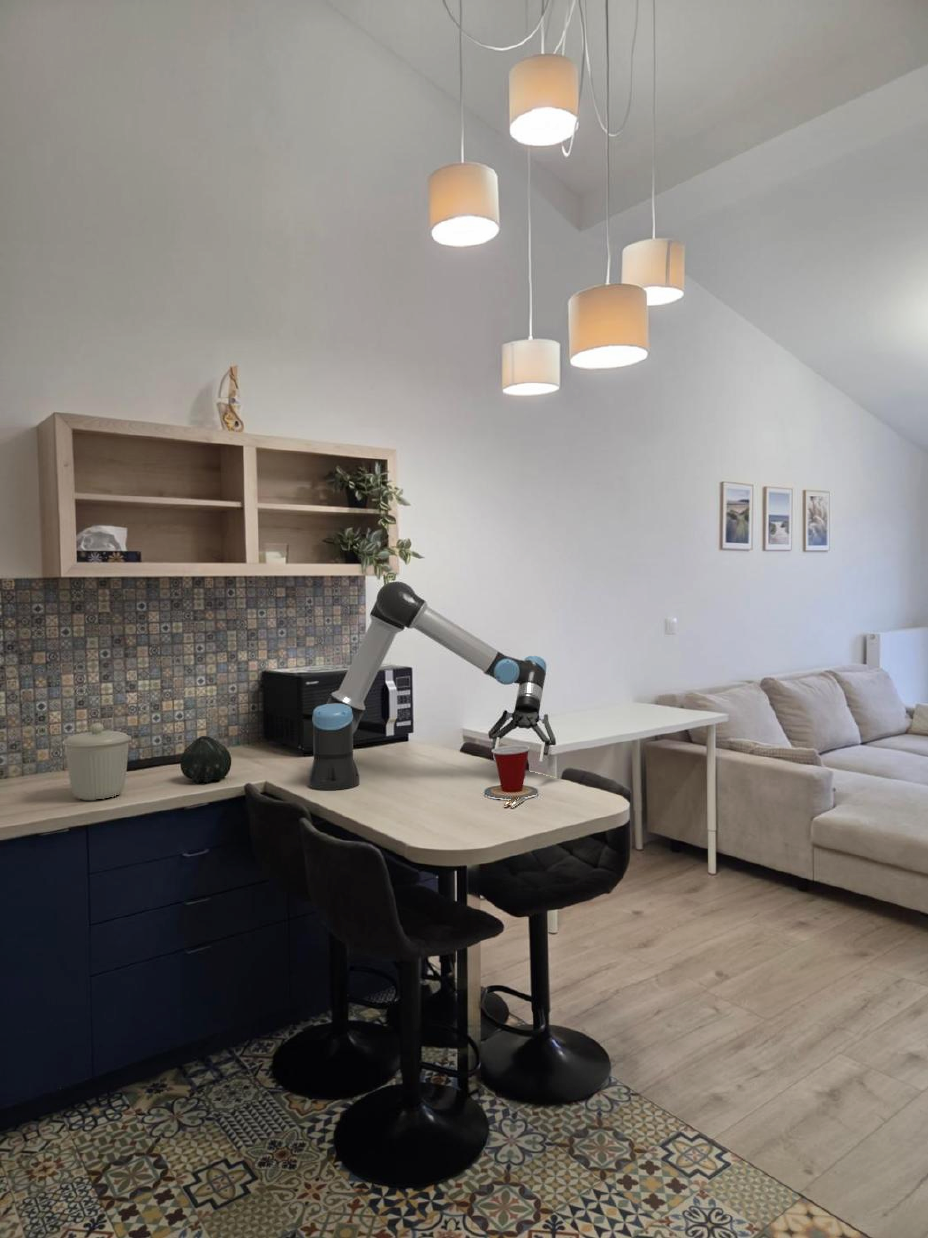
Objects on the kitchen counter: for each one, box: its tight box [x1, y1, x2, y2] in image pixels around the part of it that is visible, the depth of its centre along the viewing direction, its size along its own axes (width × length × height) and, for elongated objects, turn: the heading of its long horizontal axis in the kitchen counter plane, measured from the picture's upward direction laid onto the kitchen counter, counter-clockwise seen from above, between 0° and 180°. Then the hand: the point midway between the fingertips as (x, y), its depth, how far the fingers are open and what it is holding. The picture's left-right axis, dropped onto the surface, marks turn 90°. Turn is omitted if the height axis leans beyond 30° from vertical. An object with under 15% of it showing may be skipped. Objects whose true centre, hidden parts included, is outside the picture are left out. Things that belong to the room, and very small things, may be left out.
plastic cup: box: [491, 744, 531, 792], centre depth 237 cm, size 11×11×12 cm
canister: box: [61, 722, 132, 801], centre depth 242 cm, size 18×18×21 cm
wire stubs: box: [503, 796, 525, 807], centre depth 226 cm, size 9×3×1 cm, turn 156°
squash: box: [180, 735, 232, 783], centre depth 261 cm, size 14×15×15 cm
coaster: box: [483, 784, 539, 799], centre depth 237 cm, size 15×15×1 cm
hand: (517, 761), depth 248 cm, fingers open, 13 cm apart
